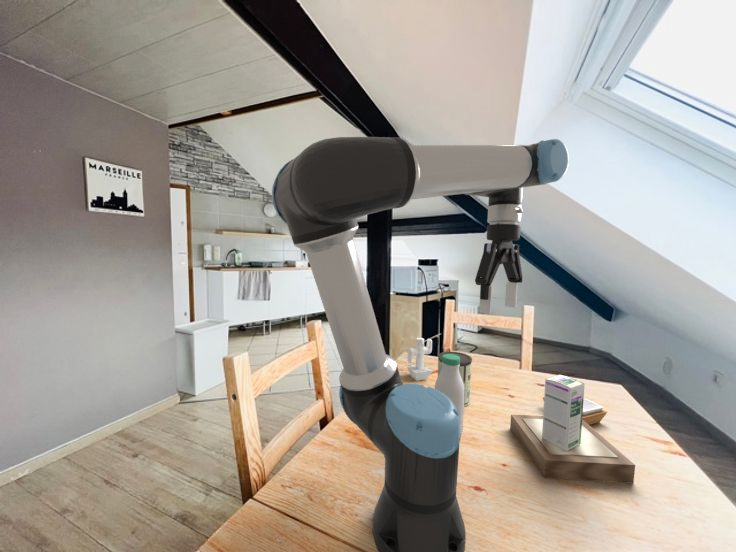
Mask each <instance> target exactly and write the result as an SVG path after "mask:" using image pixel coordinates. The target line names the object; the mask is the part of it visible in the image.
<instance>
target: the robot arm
mask: <svg viewBox="0 0 736 552" xmlns="http://www.w3.org/2000/svg"><path fill="white" fill-rule="evenodd" d="M568 168H569V152H568V148H567V146H566V145H565V143H564V142H563V141H562V140H561V139H559V138H549V139H546V140H540V141H538V142H536V143H532V144H515V145H514V144H494V145H493V144H478V145H477V144H473V145H471V144H468V145H467V144H463V145H462V144H459V145H458V144H457V145H456V144H453V145H452V144H450V145H443V144H442V145H441V144H438V145H437V144H435V145H433V144H432V145H431V144H429V145H428V144H427V145H426V144H425V145H424V144H423V145H419V144H417V145H416V144H415V145H414V144H413V145H411V144H410V143H409V142H408V141H407V140H405V138H402V137H394V136H391V137H389V136H387V137H386V136H382V137H380V136H339V137H330V138H325V139H321V140H318V141H316V142H313V143H312V144H310V145H309V146H308V147H306V148H305V149H303V150H302V151H301V152H300V153H299V154H298V155H297V156H295V158H293V159H290V160H289V161H288V162H287V163H285V164H284V165H283V167H281V168H280V170H279V171H278V173H277V175H276V177H275V178H274V181H273V184H272V188H271V200H272V204H273V208H274V210H275V212H276V213H277V216H278V217H279V218H280V219H281V220H282V222H284V223H285V224H286V225H287V228H288V229H287V230H288V231H289V234H290V237H291V240H292V243H293V246H294V247H296V248H298V249H300V250H301V251H303V252H304V253H305V254H306V257H307V260H308V264H309V266H310V270H311V272H312V275H313V279H314V282H315V284H316V285H315V286H316V288H317V291H318V295H319V296H320V301H321V303H322V306H323V308H324V312H325V315H326V318H327V321H328V324H329V328H330V331H331V334H332V337H333V339H334V343H335V346H336V349H337V352H338V355H339V358H340V362H341V364H342V365H341V366H342V367H343V368H342V370H341V372H340V374H339V378H338V380H339V384H340V385H339V393H338V396H339V402H340V405H341V407H342V409H343V412H344V414H345V415H346V417H347V418H348V419H349V420H350V421H351V422H352V423H353V424H354V425H356V426H357V427H358V428H359V430H360V431H361V432H362V433H363V435H365V436H366V437H367V438H368V439H369V440H370V442H371V443H372V444H373V445H374V446H375V447H376V448H377V449H378V450H379V452H381V453H382V455H383V457H384V485H383V487H382V489H381V492H380V495H379V498H378V500H377V502H376V505H375V508H374V511H373V518H372V537H373V542H374V544H375V546H376V549H377V551H378V552H465V551H466V539H467V538H466V535H467V534H466V527H465V522H464V519H463V516H462V512H461V509H460V505H459V502H458V498H457V484H458V470H459V469H458V468H459V453H460V443H461V435H460V428H459V415H458V411H457V409H456V407H455V405H454V403H453V402H452V401H451V400H450V399H449V398H448V397H447V396H446V395H445V394H443V393H442V392H440V391H438V390H436V389H435V387H431V386H424V385H423V384H419V383H403V380H402V379H401V374H400V371H399V367H398V364H397V361H396V359H395V358H394V357H392V356H391V355H389V354H386V350H385V346H384V344H383V340H382V336H381V333H380V329H379V325H378V322H377V319H376V318H377V317H376V315H375V312H374V308H373V304H372V301H371V297H370V294H369V291H368V287H367V283H366V280H365V277H364V273H363V270H362V269H363V268H362V266H361V265H362V264H361V262H360V259H359V255H358V251H357V248H356V245H355V241H354V236H355V235H356V232H357V231H358V229H359V223H358V220H357V219H358V218H361V217H362V218H363V217H365V216H367V215H370V214H371V215H372V214H374V213H375V214H376V213H379V212H382V211H387V210H392V209H394V210H395V209H401V208H403V207H405V206H407V205H408V204H409V203H410V202H411V201H412V200H419V199H429V198H437V197H445V196H446V197H447V196H454V195H462V194H463V195H465V196H476V197H484V198H488V207H487V220H486V222H487V224H489V225H487V227H486V240H487V241H491V242H490V243H488V242H486V243H484V245H483V252H482V256H481V258H480V263H479V267H478V268H477V272H476V275H475V278H474V281H475V284H476V286H480V289H479V291H480V292H479V306H478V308H479V309H478V313H480V314H486V315H492V312H493V311H492V309H493V295H494V294H493V293H494V291H493V290H494V286H493V285H492V283H493V281H494V279H495V277H496V274H497V272H498V269H499V268H500V265H503V268H504V272H505V274H506V277H507V282H506V284H505V297H504V298H505V299H504V307H507V308H514V309H515V308H517V305H518V291H519V290H518V289H519V286H518V285H519V283H523V272H522V267H521V259H520V258H521V257H520V245H519V244H513V243H514V242H515V241H519V240H520V239H521V225H520V224H519V223H521V222H522V221H521V220H522V213H524V210H523V208H522V206H523V194H524V193H523V192H524V191H523V190H524V188H529V187H535V186H541V185H542V186H543V185H546V184H550V183H555V182H558V181H560V180H561V179H563V177H564V176H565V175H566V173H567V171H568Z"/></svg>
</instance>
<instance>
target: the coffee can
mask: <svg viewBox="0 0 736 552" xmlns="http://www.w3.org/2000/svg"><path fill="white" fill-rule="evenodd" d="M444 354H454V355H457V356H459V357H460V366H459V373H460V376H461V378H462V381H463V384H464V408H466V407H468V406H469V405H470V403H471V380H472V379H471V377H472V376H471V375H472V362H473V358H472V357H471V356H470V355H468V354H466V353H463V352H458V351H443V352H440V353H438V355H437V377H438V376H439V374H440V372H441V369H442V355H444Z"/></svg>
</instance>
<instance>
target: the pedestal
mask: <svg viewBox="0 0 736 552" xmlns="http://www.w3.org/2000/svg"><path fill="white" fill-rule="evenodd" d="M509 424H510V425H509V427H510V431H511V432H512V434H513V435H514V437H515V438H516V439H517V441H518V442H519V444H520V445H521V447H522V448H523V449H524V451H525V453H527V455H528V457H529V458H530V460H531V461H532V462H533V464H534V465H535V467H536V468H537V469H538V471H539V473H540V474H541V476H542V477H543V478H544V479H555V480H556V479H558V480H573V481H588V482H589V481H590V482H591V481H592V482H603V483H604V482H605V483H607V482H608V483H624V484H634V482H635V473H636V471H635V469H636V464H634V462H633V461H632V460H631V459H629V458H628V457H627V456H625V455H624V454H623V453H622V452H621V451H619V450H618V449H617V448H616V447H615V446H614V445H613V444H612V443H610V441H608V440H607V439H606V438H605V437H604V436H603V435H601V434H600V433H599V432H598V431H596V430H595V429H594V428H593V427H592V426H591V425H588V424H587V423H586V422H585V421H584V420H583V419H582V431H581V444H579V445H577V446H575V447H574V448H572V449H570V450H568V451H565V450H563V449H561V448H559V447H557V446H555V445H554V444H552V443H550V442H548V441H547V440H545V439H543V438H542V429H543V415H529V414H528V415H525V414H510V423H509Z"/></svg>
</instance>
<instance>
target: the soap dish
mask: <svg viewBox="0 0 736 552" xmlns="http://www.w3.org/2000/svg"><path fill="white" fill-rule="evenodd" d="M542 400H543V401H544V396H543V397H542ZM603 408H604V407H603V406H602V405H600V404H598V403H596V402H594V401H592V400H590V399H587V398H586V397H584V400H583V415H582V419H583V420H584V421H585V422H586V423H587V424H588V425H590V426H591V425H593V424H599V423H601V421H602V420H603V419H604V418H605V416H606V415H607V413H608V412H607V411H606V410H604V409H603Z"/></svg>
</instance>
